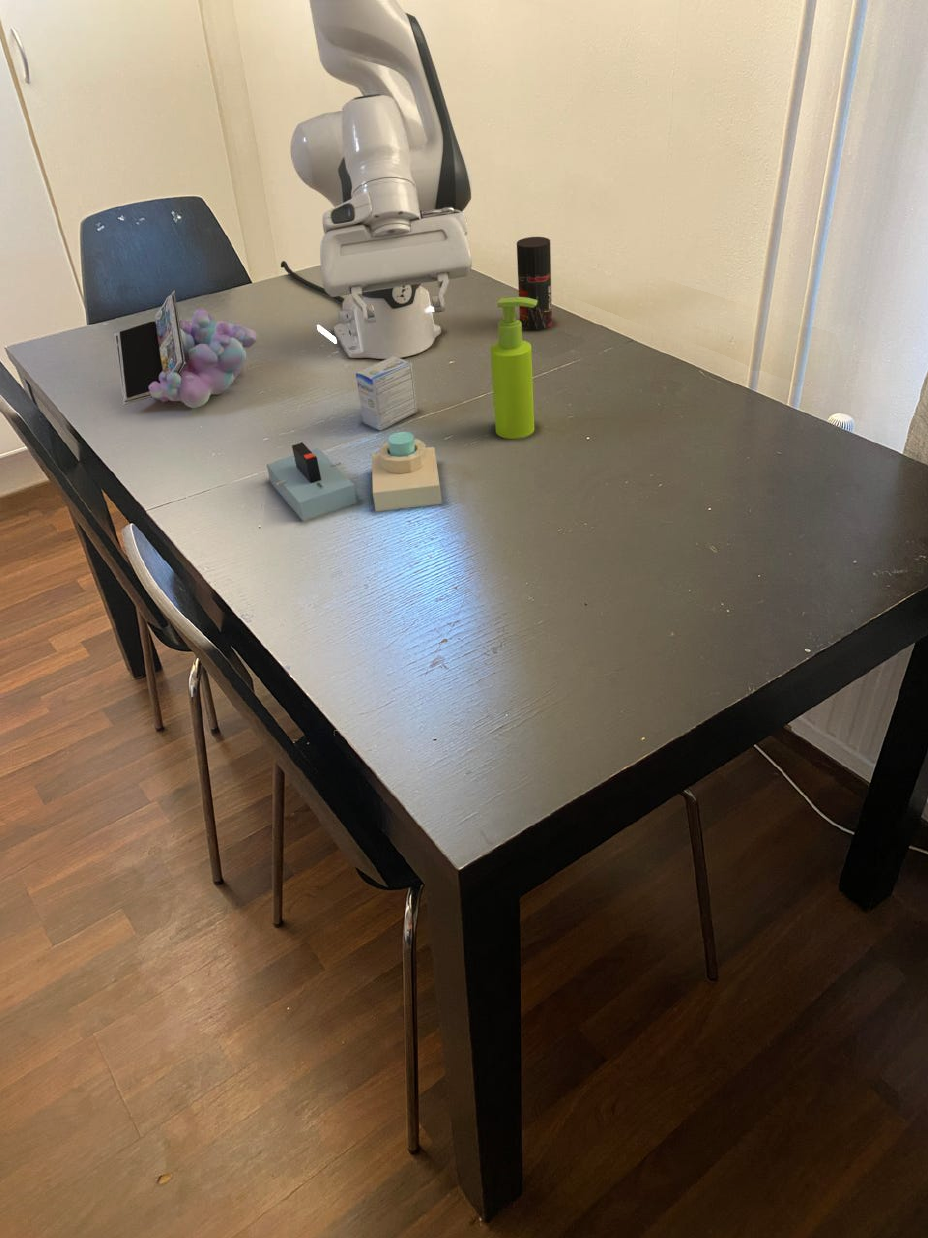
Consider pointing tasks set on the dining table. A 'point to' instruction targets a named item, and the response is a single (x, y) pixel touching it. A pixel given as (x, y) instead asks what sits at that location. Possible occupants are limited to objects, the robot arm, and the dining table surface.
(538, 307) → the deodorant
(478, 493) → the dining table surface
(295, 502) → the switch panel
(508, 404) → the soap dispenser
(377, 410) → the medicine box
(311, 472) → the black rectangular block
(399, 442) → the teal short cylinder
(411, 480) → the beige nut base
